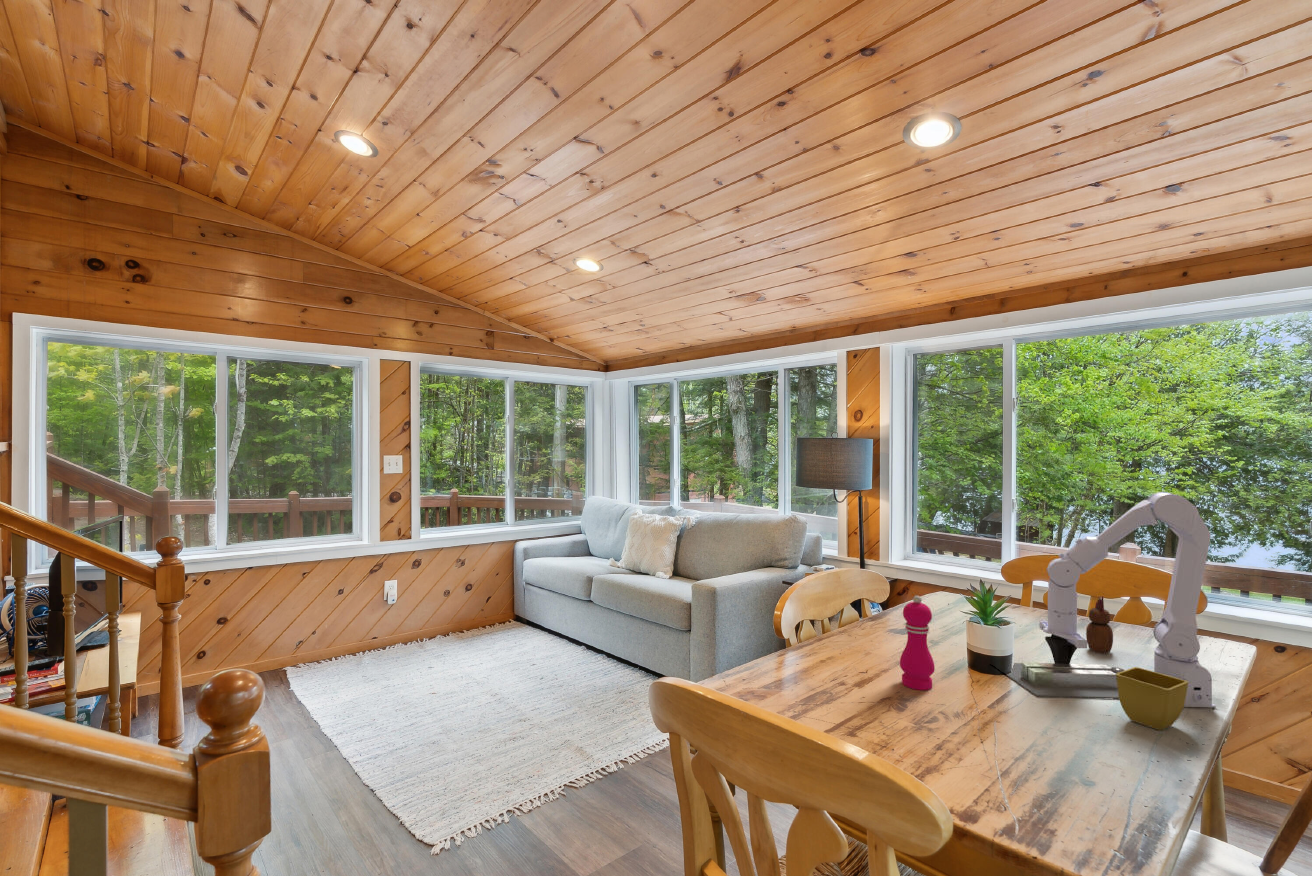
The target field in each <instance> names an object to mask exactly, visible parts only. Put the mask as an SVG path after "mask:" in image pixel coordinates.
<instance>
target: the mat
mask: <svg viewBox="0 0 1312 876" xmlns="http://www.w3.org/2000/svg"><path fill="white" fill-rule="evenodd" d="M1013 663H1014V665H1013V668H1012V672H1011V673H1009V674H1007V676H1006V677H1008V678H1009V679H1011V680H1012V681H1013V682H1014V683H1016V684H1017V685H1019V686H1021V688H1024V689H1025V690H1026V691H1028V692H1029V693H1031V694H1032V695H1034V697H1036V696H1037V697H1036V698H1057V699H1058V698H1062V699H1065V698H1067V699H1091V698H1113V699H1112V700H1119V695H1118V687H1117V688H1095V687H1059V686H1034V685H1033V684H1031V683H1030V682H1028V680H1027V679H1025V678H1024V677H1022V676H1021V662H1013Z"/></svg>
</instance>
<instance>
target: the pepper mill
mask: <svg viewBox="0 0 1312 876" xmlns="http://www.w3.org/2000/svg"><path fill="white" fill-rule="evenodd" d="M912 600H913V601H912V602H909V603H907V604H905V605H904V607H903V610H902V616H903V618H904V620H905V621H906V622H905V625H904V626H905V628H904V629H905V631H906V632H907V633H906V634H907V641H906V643H905V647H904V649H903V651H902V652H901V656H900V658H899V667H900V669H901V670H902V672H903V673H902V674H901V684H902V685H903V686H905V687H907V688H909V689H913V690H918V691H928V690H931V689H932V688H933V678H932V677H931V676H932V675H933V674H934V672H935V662H934V658H933V656H932V654H931V652H930V650H929V647H928V633H930V625H929V624H930V622H931V621H932V619H933V614H932V610H931V608H930V607H929V606H928V605H926V604H924V603H923V602H922V597H921V596H919V595H914V597H913V598H912Z"/></svg>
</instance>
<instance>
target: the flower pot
mask: <svg viewBox="0 0 1312 876" xmlns="http://www.w3.org/2000/svg"><path fill="white" fill-rule="evenodd" d="M1124 670H1125V669H1124ZM1116 679H1117V687H1118V695H1119V699H1118V700H1119V703H1120V705H1121V707H1122V710H1123V711H1124V713H1125V714H1126V716H1127V717H1128V719H1129V720H1130V721H1132V722H1135V723H1138V724H1141V725H1144V726H1145V727H1149V728H1151V729H1154V730H1157V731H1163V730H1165V729H1167V728H1169V727H1171V726H1172V725H1173V724H1174V723H1175V722H1176V721H1177V720H1178V719H1179V717H1180V716H1181V715H1182V712H1183V710H1184V708H1185V707H1184V704H1185V698H1186V693H1187V687H1188V681H1184V680H1181V679H1178V678H1175V677H1171V676H1168V675H1164V674H1160V673H1157V672H1154V671H1153V670H1150V669H1145V668H1142V667H1137V666H1135V667H1131V668H1129V669H1126V670H1125V671H1122V672H1119V673H1117V674H1116Z"/></svg>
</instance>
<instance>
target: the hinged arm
mask: <svg viewBox="0 0 1312 876" xmlns="http://www.w3.org/2000/svg"><path fill="white" fill-rule="evenodd" d="M1020 663H1021V676H1022V677H1024V678H1025V679H1027V680H1028V668H1041V669H1068V670H1106V671H1111V672H1113V673H1115V674H1117V673H1119V672H1122V671H1125V669H1123V668H1122V667H1118V666H1117V667H1116V666H1112V667H1110V666H1109V665H1106V664H1091V663H1088V664H1087V663H1086V664H1085V663H1070V664H1057V663H1053V662H1050V663H1049V662H1048V663H1047V662H1045V663H1044V662H1022V661H1021V662H1020Z"/></svg>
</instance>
